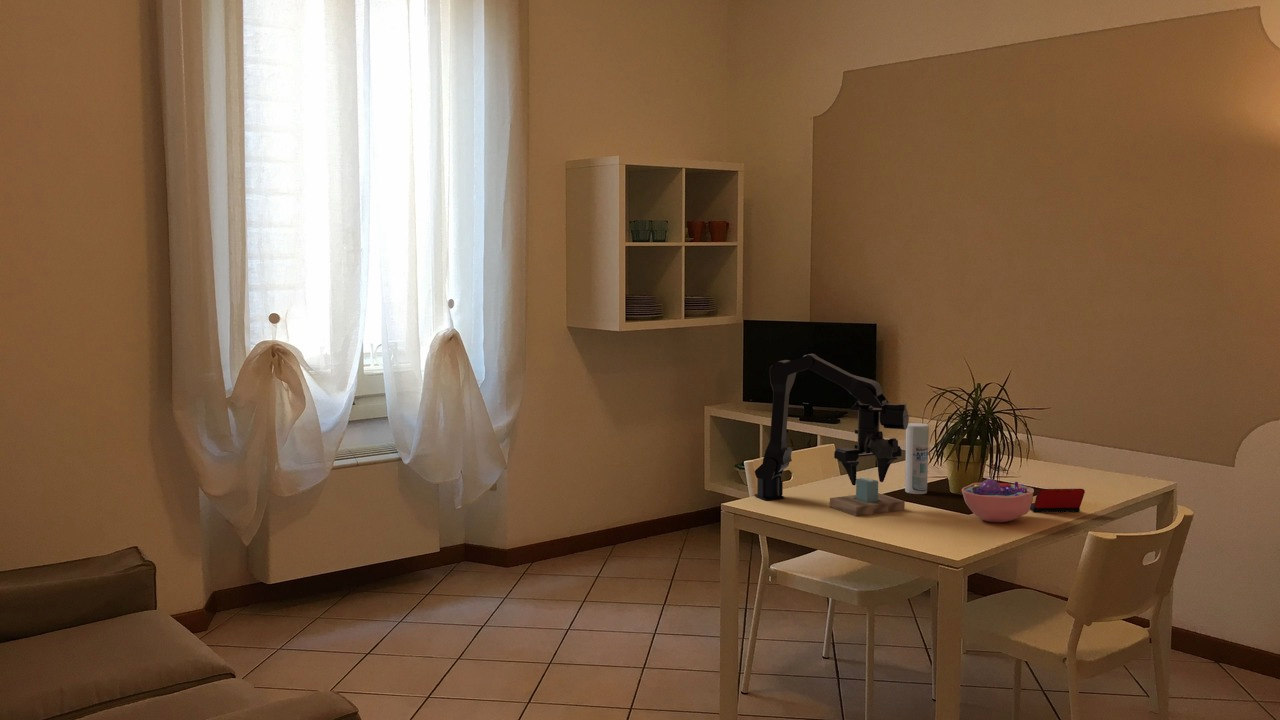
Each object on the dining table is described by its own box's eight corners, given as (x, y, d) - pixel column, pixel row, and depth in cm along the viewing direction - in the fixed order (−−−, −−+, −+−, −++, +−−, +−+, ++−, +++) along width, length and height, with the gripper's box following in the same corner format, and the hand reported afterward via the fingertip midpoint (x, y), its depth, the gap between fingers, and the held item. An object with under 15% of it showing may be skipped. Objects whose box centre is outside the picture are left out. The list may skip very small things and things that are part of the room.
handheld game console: (1068, 506, 279) (1069, 480, 279) (1085, 516, 269) (1086, 488, 268) (1023, 506, 280) (1024, 480, 279) (1037, 516, 269) (1038, 488, 268)
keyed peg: (855, 507, 279) (856, 477, 278) (866, 506, 280) (867, 476, 280) (866, 511, 274) (867, 480, 274) (877, 510, 276) (878, 479, 275)
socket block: (856, 516, 269) (856, 507, 268) (829, 506, 279) (829, 497, 279) (904, 510, 275) (904, 501, 275) (876, 501, 286) (877, 492, 286)
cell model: (1050, 522, 262) (1052, 479, 261) (997, 532, 252) (998, 487, 251) (998, 509, 276) (999, 468, 275) (945, 518, 266) (946, 475, 265)
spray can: (917, 488, 302) (918, 422, 300) (932, 492, 296) (933, 425, 295) (900, 490, 299) (901, 423, 298) (914, 495, 294) (916, 426, 292)
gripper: (858, 433, 264) (857, 492, 265) (915, 428, 272) (914, 486, 273) (833, 427, 274) (832, 484, 276) (889, 423, 282) (888, 478, 283)
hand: (867, 483), depth 277 cm, fingers open, 9 cm apart
